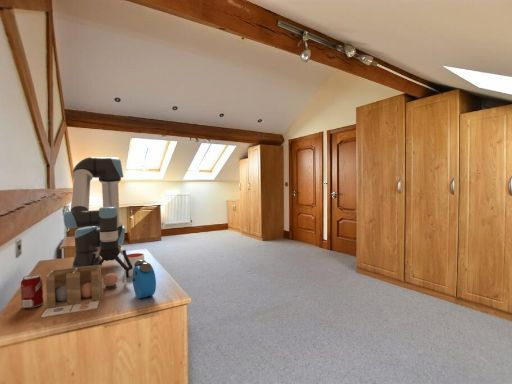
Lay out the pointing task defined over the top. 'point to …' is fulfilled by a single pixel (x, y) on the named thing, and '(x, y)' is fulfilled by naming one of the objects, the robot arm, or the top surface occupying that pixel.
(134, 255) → the cup
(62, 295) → the ball grey
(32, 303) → the soda can
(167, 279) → the top surface
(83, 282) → the box
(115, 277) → the terra ball
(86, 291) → the terracotta ball
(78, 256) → the robot arm
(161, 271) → the top surface
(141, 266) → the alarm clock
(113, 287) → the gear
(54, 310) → the card
